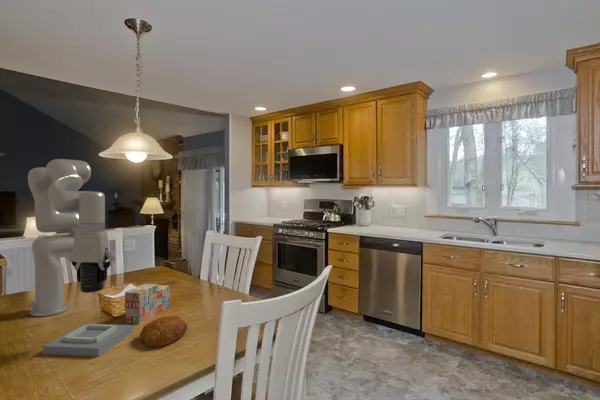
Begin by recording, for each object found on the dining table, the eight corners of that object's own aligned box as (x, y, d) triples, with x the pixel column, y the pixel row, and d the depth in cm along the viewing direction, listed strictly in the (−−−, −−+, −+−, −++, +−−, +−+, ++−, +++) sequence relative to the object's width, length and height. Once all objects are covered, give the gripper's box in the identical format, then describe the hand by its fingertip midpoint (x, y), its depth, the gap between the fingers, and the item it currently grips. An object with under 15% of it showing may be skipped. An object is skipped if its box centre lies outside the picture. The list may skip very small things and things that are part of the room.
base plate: (42, 354, 102) (42, 342, 102) (84, 330, 120) (84, 320, 120) (98, 356, 100) (98, 344, 100) (132, 332, 118) (132, 321, 118)
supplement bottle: (87, 287, 115) (87, 253, 115) (107, 287, 115) (107, 252, 115) (75, 293, 108) (75, 256, 108) (97, 292, 109) (97, 256, 108)
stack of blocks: (157, 305, 148) (157, 277, 148) (170, 306, 147) (170, 278, 146) (124, 323, 127) (124, 291, 126) (139, 324, 126) (139, 292, 125)
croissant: (194, 339, 118) (197, 316, 119) (159, 352, 104) (163, 326, 105) (164, 331, 124) (167, 309, 125) (128, 342, 110) (131, 317, 111)
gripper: (58, 229, 108) (58, 283, 108) (109, 229, 107) (110, 284, 107) (75, 227, 116) (75, 277, 116) (123, 227, 115) (123, 278, 115)
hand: (92, 280), depth 112 cm, fingers closed on supplement bottle, 6 cm apart
